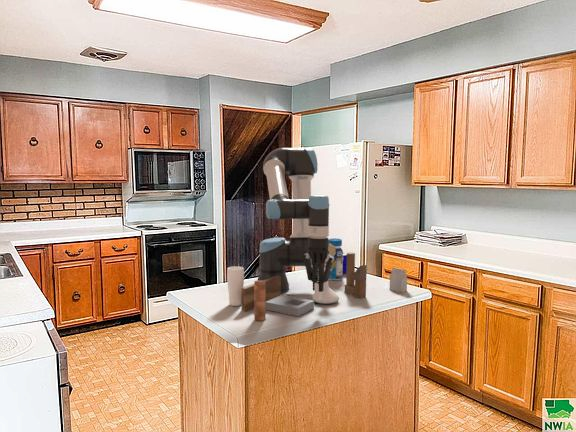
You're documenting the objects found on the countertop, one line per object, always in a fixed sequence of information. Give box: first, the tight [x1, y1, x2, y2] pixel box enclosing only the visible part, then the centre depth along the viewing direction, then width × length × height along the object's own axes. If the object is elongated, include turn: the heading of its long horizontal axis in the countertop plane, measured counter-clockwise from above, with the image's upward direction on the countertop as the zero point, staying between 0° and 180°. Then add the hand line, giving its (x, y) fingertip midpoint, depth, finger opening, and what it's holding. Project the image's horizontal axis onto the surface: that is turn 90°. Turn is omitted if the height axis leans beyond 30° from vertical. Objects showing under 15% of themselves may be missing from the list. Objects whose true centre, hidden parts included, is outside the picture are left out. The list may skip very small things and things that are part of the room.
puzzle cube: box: [324, 252, 347, 275], centre depth 238 cm, size 10×10×10 cm
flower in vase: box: [311, 243, 340, 305], centre depth 183 cm, size 13×11×25 cm
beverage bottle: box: [328, 238, 344, 281], centre depth 223 cm, size 8×8×20 cm
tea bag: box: [389, 266, 408, 293], centre depth 202 cm, size 4×7×10 cm, turn 38°
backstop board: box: [240, 276, 282, 312], centre depth 182 cm, size 2×24×9 cm, turn 146°
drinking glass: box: [226, 266, 245, 307], centre depth 180 cm, size 7×7×15 cm
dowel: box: [253, 279, 266, 322], centre depth 162 cm, size 4×4×14 cm
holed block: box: [265, 294, 315, 317], centre depth 174 cm, size 15×12×3 cm
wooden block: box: [343, 252, 368, 299], centre depth 194 cm, size 4×11×18 cm, turn 30°
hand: (318, 299), depth 167 cm, fingers closed
